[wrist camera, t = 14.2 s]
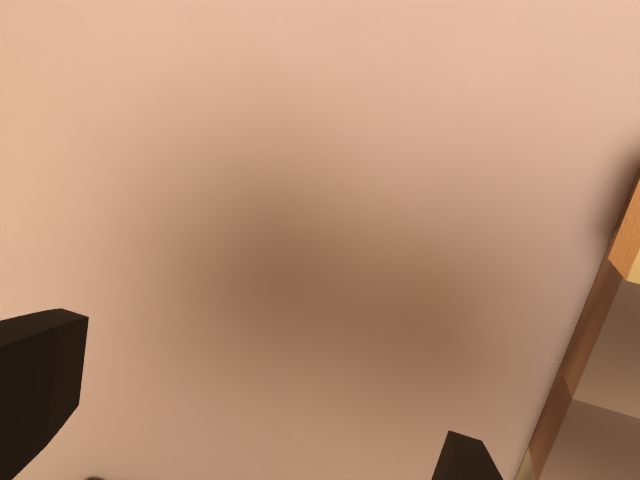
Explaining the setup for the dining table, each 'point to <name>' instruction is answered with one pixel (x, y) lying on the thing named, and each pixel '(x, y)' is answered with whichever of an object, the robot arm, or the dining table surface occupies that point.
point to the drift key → (628, 242)
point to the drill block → (595, 389)
